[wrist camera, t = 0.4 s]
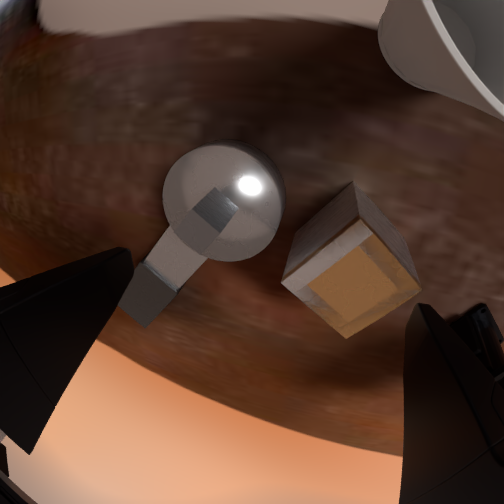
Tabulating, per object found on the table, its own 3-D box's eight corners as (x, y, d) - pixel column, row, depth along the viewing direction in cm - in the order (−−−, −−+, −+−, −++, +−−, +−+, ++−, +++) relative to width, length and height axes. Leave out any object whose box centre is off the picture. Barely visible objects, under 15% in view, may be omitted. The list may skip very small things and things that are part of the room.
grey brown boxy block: (404, 238, 20) (422, 290, 15) (346, 281, 23) (346, 338, 18) (353, 181, 19) (360, 219, 14) (294, 232, 22) (280, 282, 17)
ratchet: (220, 115, 19) (178, 129, 14) (310, 195, 20) (301, 236, 15) (112, 274, 29) (77, 311, 24) (171, 324, 30) (145, 366, 26)
